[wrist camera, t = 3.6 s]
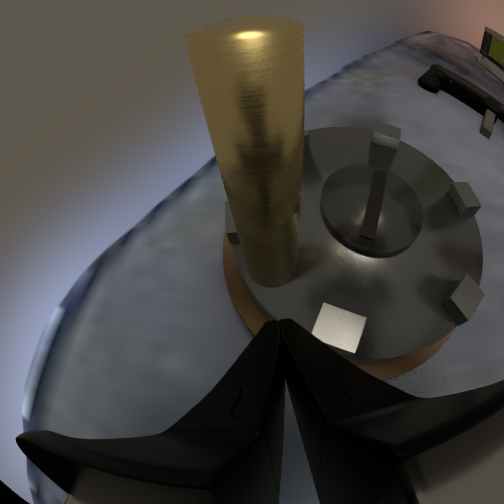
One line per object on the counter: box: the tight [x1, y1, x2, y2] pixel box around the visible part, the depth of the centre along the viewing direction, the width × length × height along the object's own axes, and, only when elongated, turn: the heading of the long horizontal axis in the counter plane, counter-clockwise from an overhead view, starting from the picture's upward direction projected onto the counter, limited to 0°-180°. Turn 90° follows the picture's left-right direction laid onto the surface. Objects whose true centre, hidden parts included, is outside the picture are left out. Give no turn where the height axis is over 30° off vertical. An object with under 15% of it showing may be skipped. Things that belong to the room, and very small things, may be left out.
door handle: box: [418, 64, 504, 139], centre depth 27 cm, size 3×20×16 cm
